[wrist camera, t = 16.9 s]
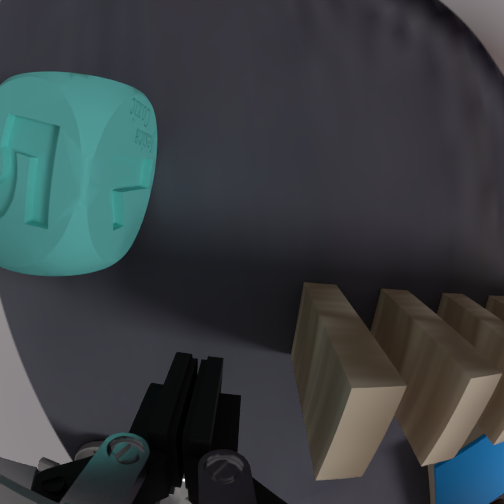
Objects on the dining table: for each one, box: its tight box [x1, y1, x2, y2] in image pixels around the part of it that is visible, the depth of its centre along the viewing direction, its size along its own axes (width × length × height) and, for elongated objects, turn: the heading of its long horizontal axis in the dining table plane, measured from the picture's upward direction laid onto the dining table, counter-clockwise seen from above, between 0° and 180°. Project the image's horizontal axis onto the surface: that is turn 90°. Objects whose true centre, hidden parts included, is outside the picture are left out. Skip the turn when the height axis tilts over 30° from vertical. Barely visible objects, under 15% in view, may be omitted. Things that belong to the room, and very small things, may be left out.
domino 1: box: [291, 282, 407, 480], centre depth 14 cm, size 2×5×10 cm, turn 174°
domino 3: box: [437, 293, 504, 445], centre depth 14 cm, size 2×5×10 cm, turn 174°
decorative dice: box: [0, 72, 157, 276], centre depth 13 cm, size 8×8×8 cm
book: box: [428, 423, 504, 504], centre depth 23 cm, size 17×4×25 cm
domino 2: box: [370, 288, 502, 466], centre depth 14 cm, size 2×5×10 cm, turn 174°
